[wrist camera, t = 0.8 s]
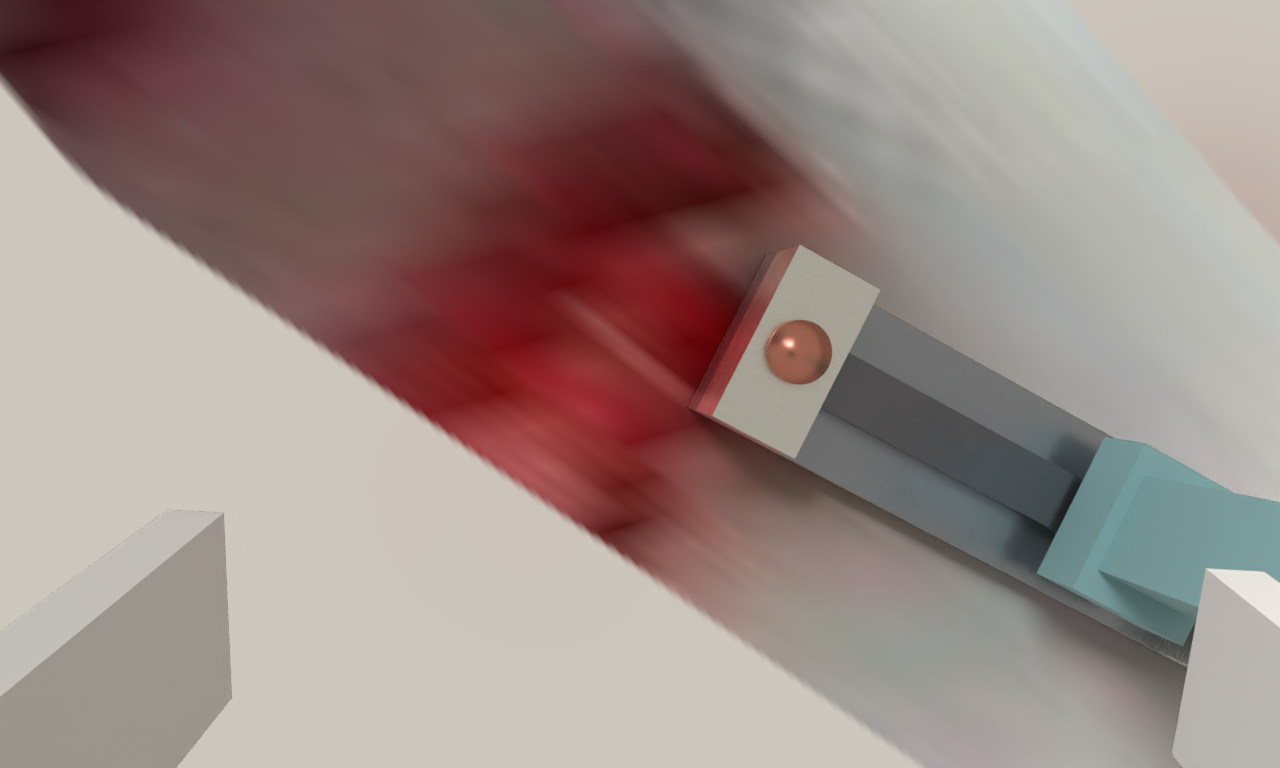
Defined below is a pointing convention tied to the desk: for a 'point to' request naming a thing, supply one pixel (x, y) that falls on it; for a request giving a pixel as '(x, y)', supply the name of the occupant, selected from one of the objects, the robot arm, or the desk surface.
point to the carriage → (1156, 537)
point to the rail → (903, 422)
